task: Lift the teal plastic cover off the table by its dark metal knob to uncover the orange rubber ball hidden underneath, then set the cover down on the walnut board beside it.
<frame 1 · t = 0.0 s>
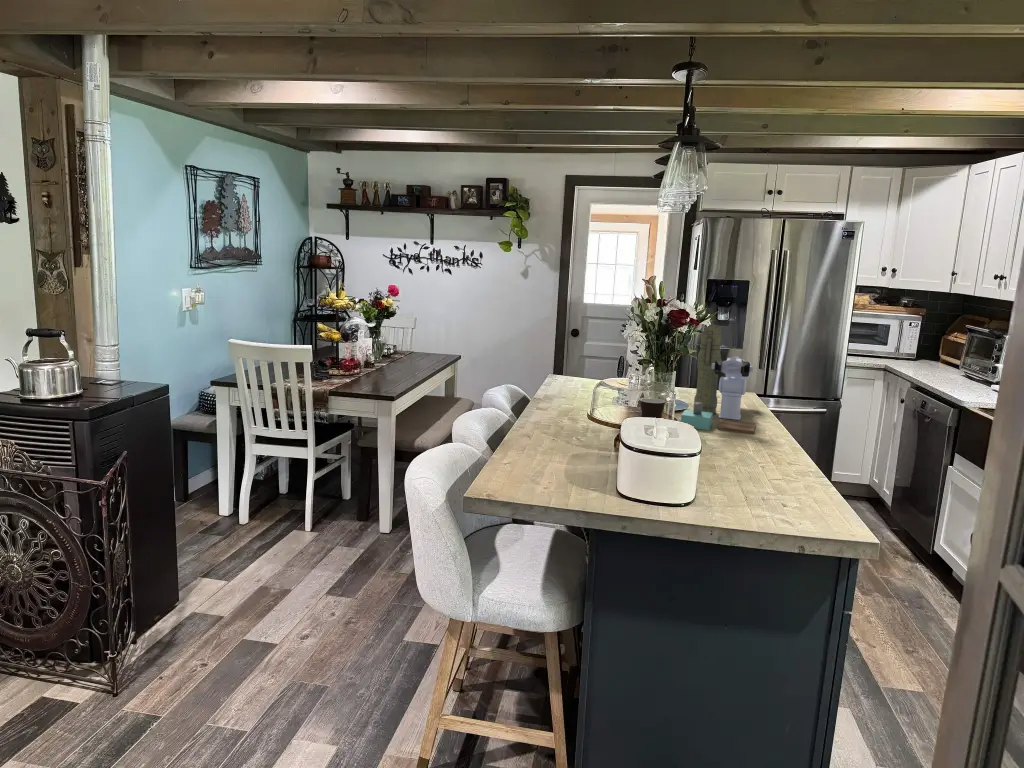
hand: (730, 368, 245), 22 cm above the countertop, tool horizontal, fingers open, 7 cm apart
walnut board: (737, 427, 249), on the countertop
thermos: (704, 412, 274), on the countertop
cover: (696, 425, 250), on the countertop
ball: (696, 421, 250), in the cover
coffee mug: (652, 427, 246), on the countertop
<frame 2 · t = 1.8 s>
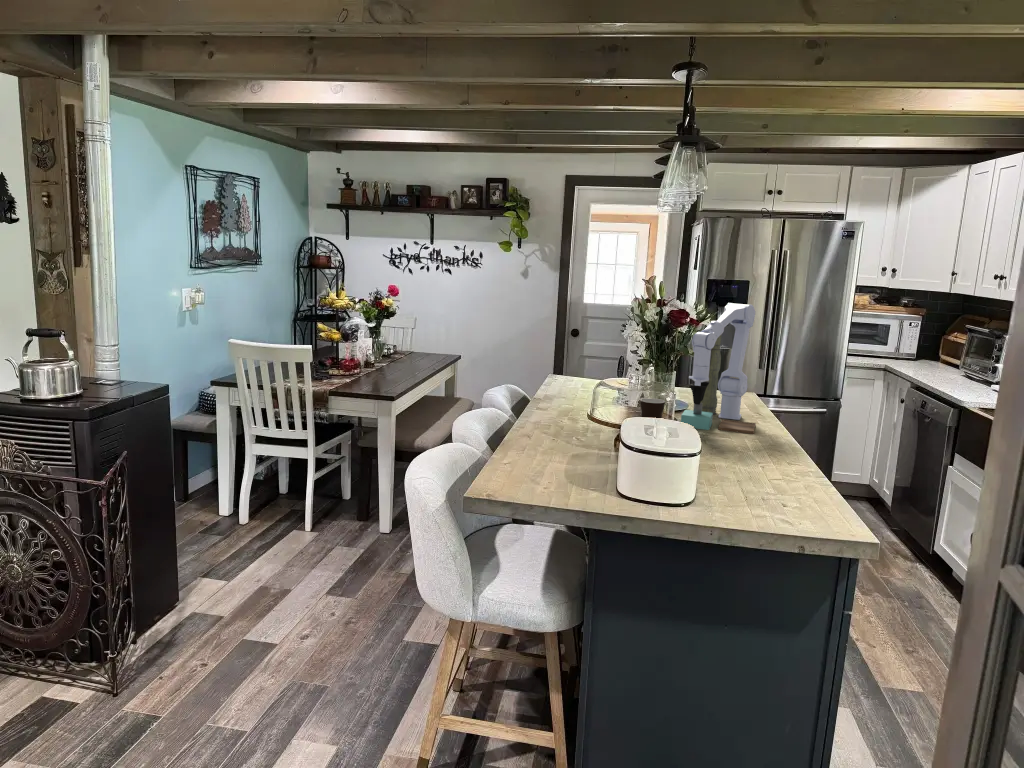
hand: (698, 402, 249), 9 cm above the countertop, tool pointing down, fingers open, 7 cm apart
nothing on the countertop moved.
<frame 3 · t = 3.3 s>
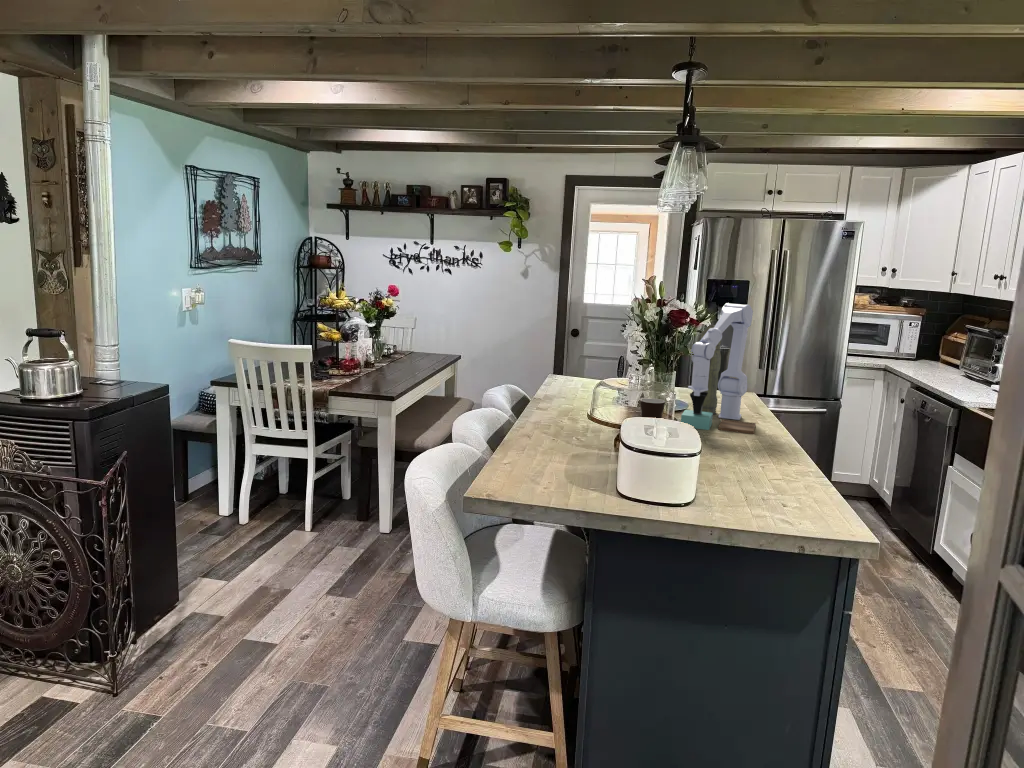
hand: (697, 412, 250), 5 cm above the countertop, tool pointing down, fingers closed on cover, 3 cm apart
cover: (696, 425, 250), on the countertop, touching gripper
everything else where it was.
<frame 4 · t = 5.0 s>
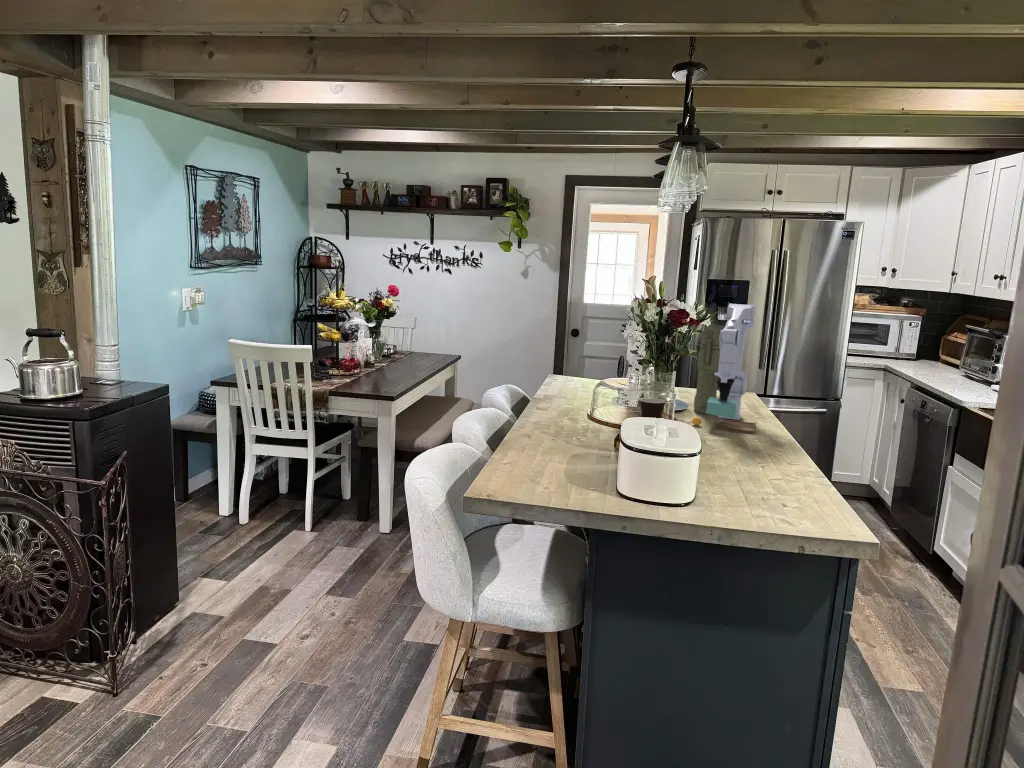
hand: (724, 399, 247), 10 cm above the countertop, tool pointing down, fingers closed on cover, 3 cm apart
cover: (721, 413, 248), point 5 cm above the countertop, touching gripper
everything else where it was.
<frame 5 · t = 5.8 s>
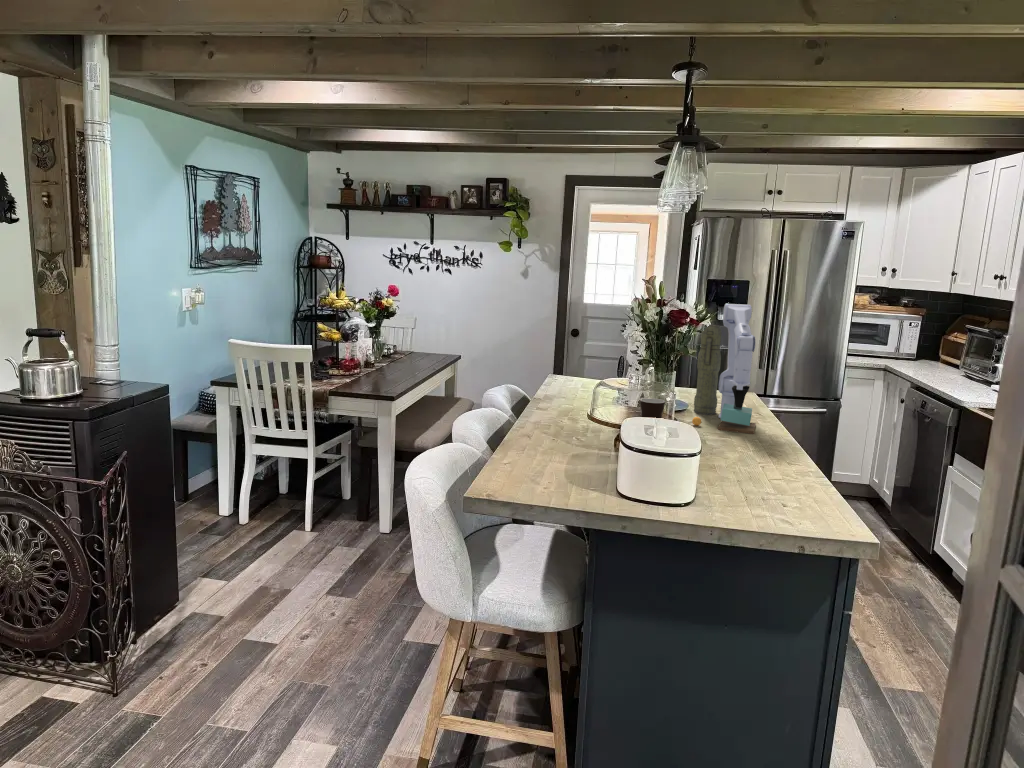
hand: (739, 406, 247), 8 cm above the countertop, tool pointing down, fingers closed on cover, 3 cm apart
cover: (735, 420, 248), point 3 cm above the countertop, touching gripper
everything else where it was.
when the fingers open (7 cm above the countertop, at t = 6.6 s): cover drops 1 cm, resting on walnut board.
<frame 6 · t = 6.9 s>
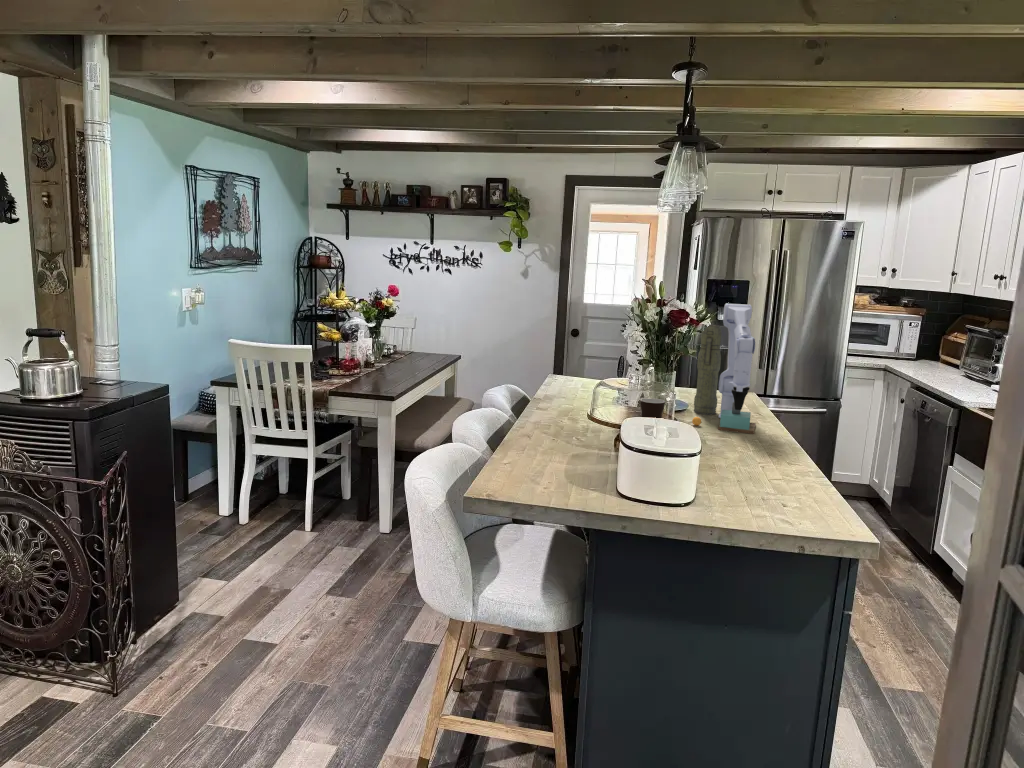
hand: (738, 408, 247), 8 cm above the countertop, tool pointing down, fingers open, 5 cm apart
cover: (734, 425, 248), point 1 cm above the countertop, touching walnut board
everything else where it was.
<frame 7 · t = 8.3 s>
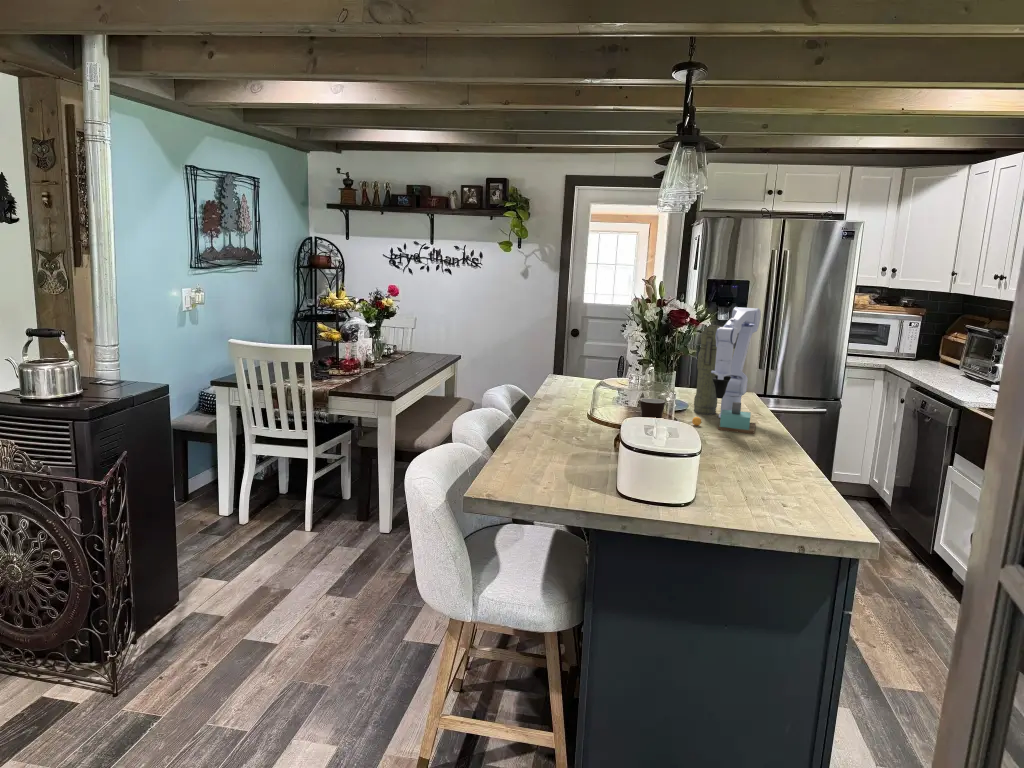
hand: (720, 396, 252), 10 cm above the countertop, tool pointing down, fingers open, 7 cm apart
nothing on the countertop moved.
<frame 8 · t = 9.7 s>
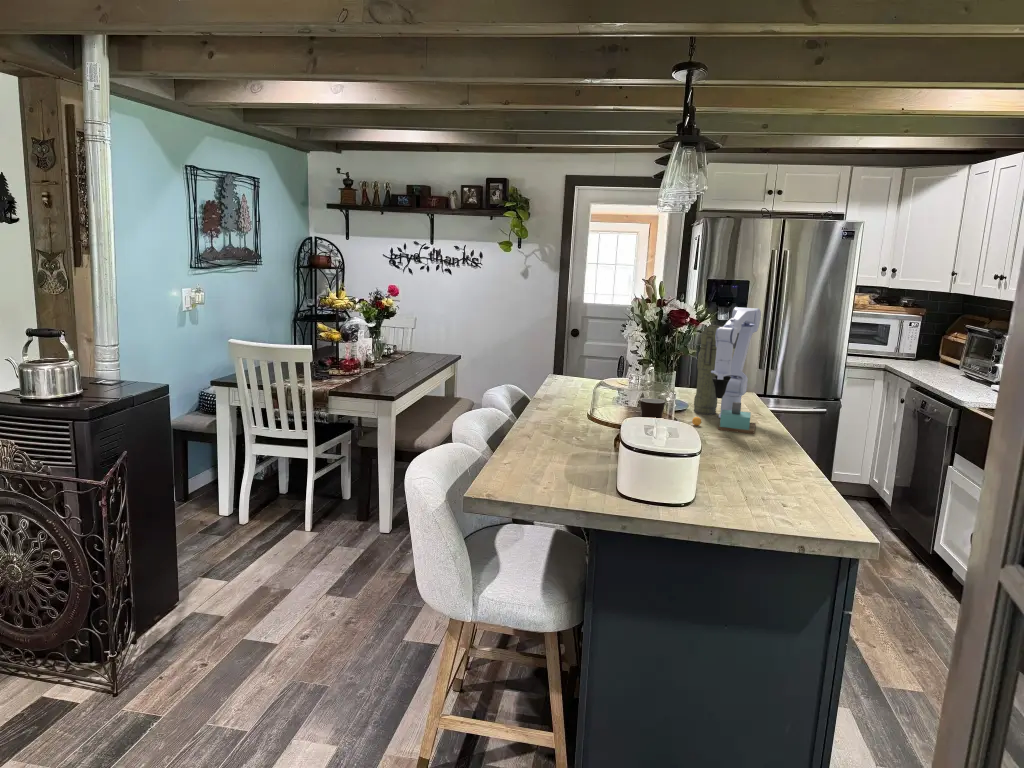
hand: (720, 396, 252), 10 cm above the countertop, tool pointing down, fingers open, 7 cm apart
nothing on the countertop moved.
at the end: cover inside the target area on the walnut board (1.3 cm from its centre), point 1.0 cm above the walnut board's base; cover tilted 0°; the gripper is holding nothing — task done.
